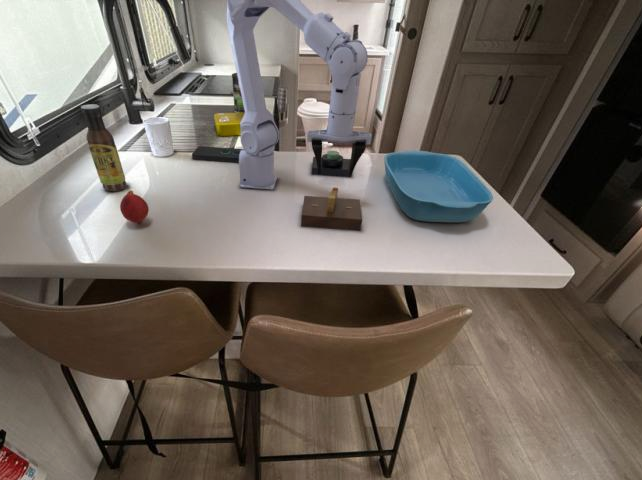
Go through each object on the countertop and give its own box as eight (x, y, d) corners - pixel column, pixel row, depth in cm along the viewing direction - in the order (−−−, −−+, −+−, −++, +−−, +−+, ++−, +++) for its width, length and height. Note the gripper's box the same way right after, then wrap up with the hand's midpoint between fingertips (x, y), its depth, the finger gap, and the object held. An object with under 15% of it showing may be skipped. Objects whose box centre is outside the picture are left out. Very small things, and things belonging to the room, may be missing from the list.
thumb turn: (332, 212, 78) (334, 197, 75) (326, 211, 78) (328, 196, 75) (336, 202, 82) (338, 187, 79) (331, 201, 82) (332, 186, 79)
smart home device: (252, 158, 104) (191, 154, 106) (252, 164, 106) (191, 159, 107) (257, 149, 110) (199, 145, 112) (257, 154, 112) (199, 150, 113)
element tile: (256, 135, 126) (256, 121, 123) (217, 136, 124) (215, 122, 120) (251, 123, 137) (251, 110, 134) (214, 124, 134) (213, 111, 131)
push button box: (311, 174, 101) (312, 161, 98) (312, 163, 107) (313, 150, 104) (350, 177, 100) (353, 164, 97) (349, 166, 107) (351, 153, 104)
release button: (326, 160, 100) (327, 154, 99) (326, 156, 103) (327, 150, 101) (338, 161, 100) (339, 155, 99) (338, 156, 102) (339, 151, 101)
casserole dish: (373, 170, 104) (378, 146, 100) (444, 172, 105) (452, 149, 100) (400, 232, 78) (408, 204, 73) (495, 236, 78) (509, 208, 73)
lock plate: (300, 226, 79) (301, 214, 76) (303, 206, 86) (304, 194, 84) (360, 230, 78) (362, 218, 76) (357, 210, 85) (359, 198, 83)
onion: (137, 232, 75) (126, 199, 69) (120, 224, 77) (108, 192, 72) (157, 221, 79) (148, 189, 73) (140, 214, 81) (130, 182, 75)
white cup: (180, 152, 111) (174, 119, 104) (162, 159, 106) (154, 125, 100) (164, 147, 114) (157, 115, 107) (145, 154, 109) (137, 121, 102)
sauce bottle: (100, 192, 88) (68, 109, 75) (108, 182, 93) (79, 102, 79) (124, 192, 89) (97, 109, 75) (131, 182, 93) (107, 102, 80)
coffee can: (254, 115, 146) (252, 77, 136) (231, 113, 147) (228, 76, 137) (259, 109, 153) (258, 73, 144) (238, 107, 154) (235, 71, 145)
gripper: (372, 108, 75) (361, 168, 84) (308, 105, 75) (305, 165, 84) (377, 116, 70) (365, 179, 79) (309, 114, 70) (305, 177, 79)
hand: (334, 173), depth 81 cm, fingers open, 7 cm apart
